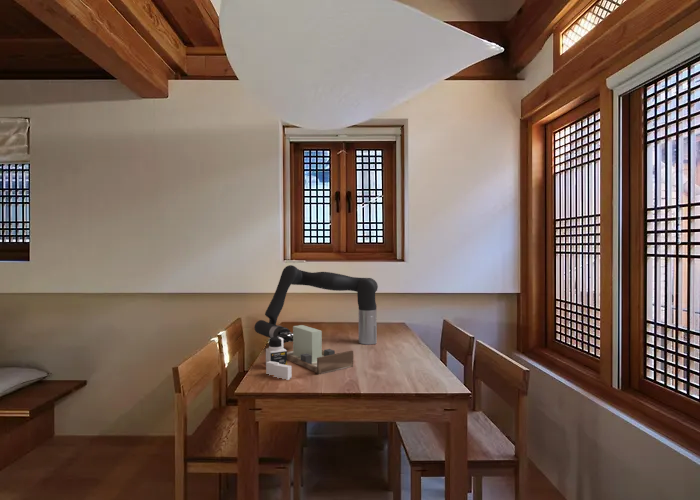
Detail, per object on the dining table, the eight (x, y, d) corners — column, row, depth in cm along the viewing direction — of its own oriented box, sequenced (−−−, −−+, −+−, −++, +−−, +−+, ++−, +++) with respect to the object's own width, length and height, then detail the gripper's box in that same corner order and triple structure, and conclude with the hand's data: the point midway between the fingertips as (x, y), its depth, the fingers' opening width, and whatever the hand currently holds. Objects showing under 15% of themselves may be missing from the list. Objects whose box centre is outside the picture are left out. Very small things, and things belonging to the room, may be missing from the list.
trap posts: (300, 363, 180) (300, 354, 180) (329, 357, 189) (329, 348, 189) (305, 366, 177) (305, 356, 177) (334, 359, 186) (334, 350, 186)
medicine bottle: (270, 369, 174) (270, 340, 173) (265, 365, 180) (265, 336, 180) (287, 367, 177) (287, 338, 177) (281, 362, 183) (281, 335, 183)
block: (293, 354, 194) (293, 326, 194) (302, 352, 197) (302, 324, 197) (312, 362, 182) (312, 332, 182) (321, 360, 185) (321, 330, 185)
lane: (275, 355, 195) (275, 341, 195) (307, 349, 206) (307, 336, 205) (318, 374, 167) (318, 358, 167) (353, 366, 178) (353, 351, 177)
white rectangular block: (298, 381, 161) (298, 366, 161) (268, 385, 156) (268, 369, 156) (288, 370, 175) (288, 356, 174) (260, 373, 170) (260, 359, 170)
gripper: (267, 328, 205) (285, 334, 192) (291, 324, 213) (309, 330, 200) (267, 343, 205) (285, 350, 192) (291, 339, 214) (309, 346, 200)
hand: (297, 340), depth 196 cm, fingers closed
